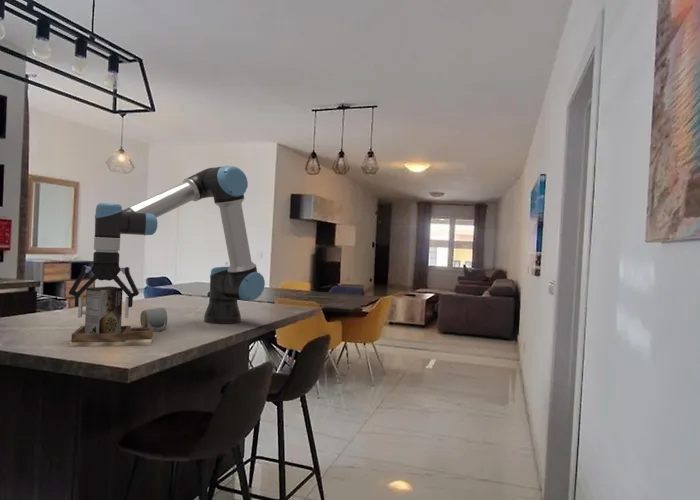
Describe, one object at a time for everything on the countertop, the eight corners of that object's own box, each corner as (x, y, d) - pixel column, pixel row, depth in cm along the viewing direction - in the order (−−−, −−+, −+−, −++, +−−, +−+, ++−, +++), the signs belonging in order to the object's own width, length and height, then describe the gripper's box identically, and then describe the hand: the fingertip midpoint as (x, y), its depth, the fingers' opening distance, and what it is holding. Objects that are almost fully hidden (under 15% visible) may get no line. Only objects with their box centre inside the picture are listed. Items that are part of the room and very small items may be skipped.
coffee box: (106, 334, 167) (108, 286, 166) (121, 336, 164) (123, 287, 164) (83, 338, 158) (85, 287, 158) (98, 340, 156) (101, 289, 156)
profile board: (153, 335, 174) (154, 325, 174) (150, 345, 158) (151, 334, 158) (79, 335, 167) (80, 325, 167) (68, 346, 151) (69, 334, 151)
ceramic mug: (138, 327, 188) (139, 307, 187) (160, 326, 193) (161, 306, 193) (147, 332, 179) (148, 311, 179) (170, 331, 185) (171, 310, 184)
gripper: (149, 252, 169) (146, 315, 169) (65, 249, 161) (62, 315, 161) (147, 253, 161) (144, 319, 162) (60, 249, 154) (56, 318, 154)
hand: (103, 317), depth 161 cm, fingers open, 13 cm apart
